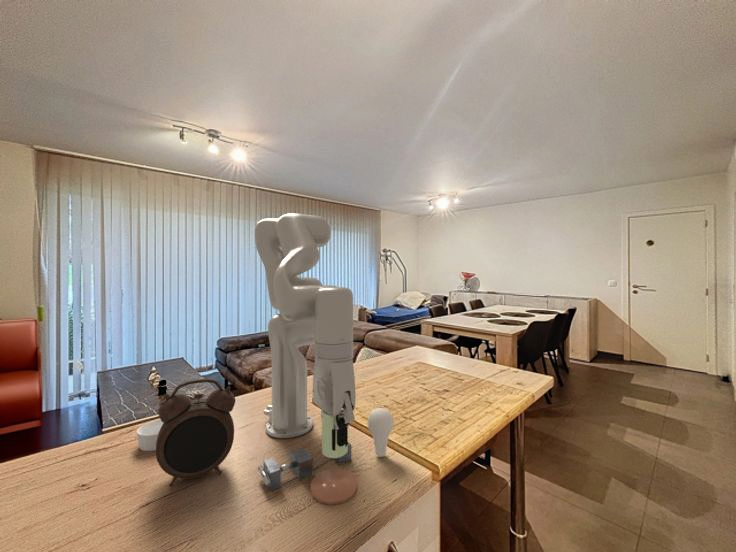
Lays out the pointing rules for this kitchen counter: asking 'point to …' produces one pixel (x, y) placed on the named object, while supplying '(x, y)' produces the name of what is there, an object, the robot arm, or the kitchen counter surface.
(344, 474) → the coaster
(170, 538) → the kitchen counter surface
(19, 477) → the kitchen counter surface
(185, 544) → the kitchen counter surface
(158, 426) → the ramekin
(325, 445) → the candle
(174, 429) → the alarm clock
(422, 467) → the kitchen counter surface
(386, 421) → the lightbulb
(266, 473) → the vise
